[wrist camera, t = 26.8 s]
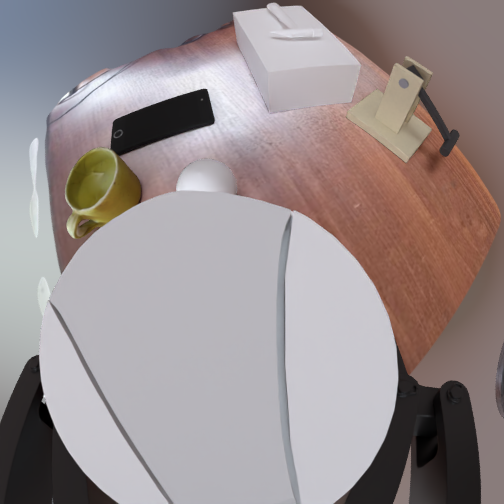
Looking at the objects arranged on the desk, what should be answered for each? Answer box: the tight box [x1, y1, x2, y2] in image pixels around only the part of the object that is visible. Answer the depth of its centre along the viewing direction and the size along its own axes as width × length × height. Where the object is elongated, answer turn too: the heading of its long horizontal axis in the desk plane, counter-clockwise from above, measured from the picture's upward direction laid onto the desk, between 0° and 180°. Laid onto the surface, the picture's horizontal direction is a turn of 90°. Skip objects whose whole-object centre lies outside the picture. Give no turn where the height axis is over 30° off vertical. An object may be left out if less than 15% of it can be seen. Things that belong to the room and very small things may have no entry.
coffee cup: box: [39, 190, 398, 504], centre depth 11 cm, size 8×8×15 cm
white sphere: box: [176, 158, 237, 195], centre depth 32 cm, size 10×7×7 cm
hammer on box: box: [233, 3, 361, 114], centre depth 38 cm, size 14×25×11 cm, turn 14°
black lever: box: [406, 65, 459, 157], centre depth 29 cm, size 13×6×2 cm, turn 44°
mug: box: [65, 147, 141, 238], centre depth 33 cm, size 12×10×10 cm
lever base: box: [346, 57, 433, 163], centre depth 32 cm, size 12×10×13 cm
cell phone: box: [111, 89, 215, 155], centre depth 41 cm, size 9×18×1 cm, turn 104°
